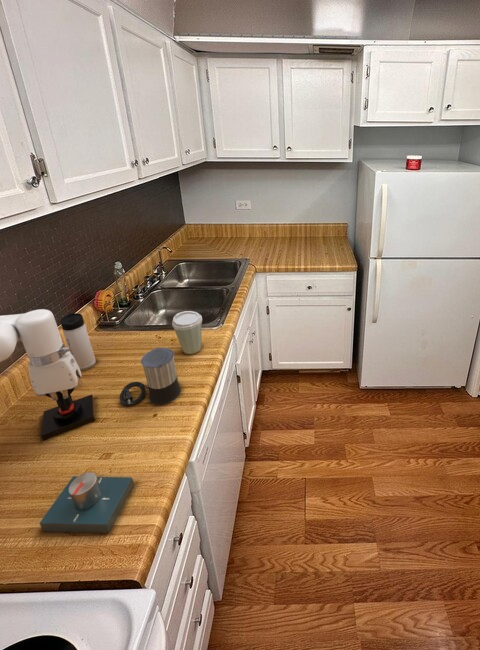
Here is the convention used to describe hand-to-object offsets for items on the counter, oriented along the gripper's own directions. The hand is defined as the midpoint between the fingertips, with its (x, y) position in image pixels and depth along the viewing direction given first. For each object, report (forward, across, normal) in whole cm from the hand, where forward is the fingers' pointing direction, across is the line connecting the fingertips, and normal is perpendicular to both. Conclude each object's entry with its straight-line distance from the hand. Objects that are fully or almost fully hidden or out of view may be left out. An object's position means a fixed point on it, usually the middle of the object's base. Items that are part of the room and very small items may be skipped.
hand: (66, 406), depth 95 cm
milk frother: (+5, -21, -2) cm, 22 cm away
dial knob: (+2, -12, +30) cm, 32 cm away
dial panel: (+5, -12, +30) cm, 33 cm away
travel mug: (+5, +3, -26) cm, 27 cm away
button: (+2, 0, 0) cm, 2 cm away
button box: (+5, 0, 0) cm, 5 cm away
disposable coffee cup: (+5, -33, -23) cm, 41 cm away
